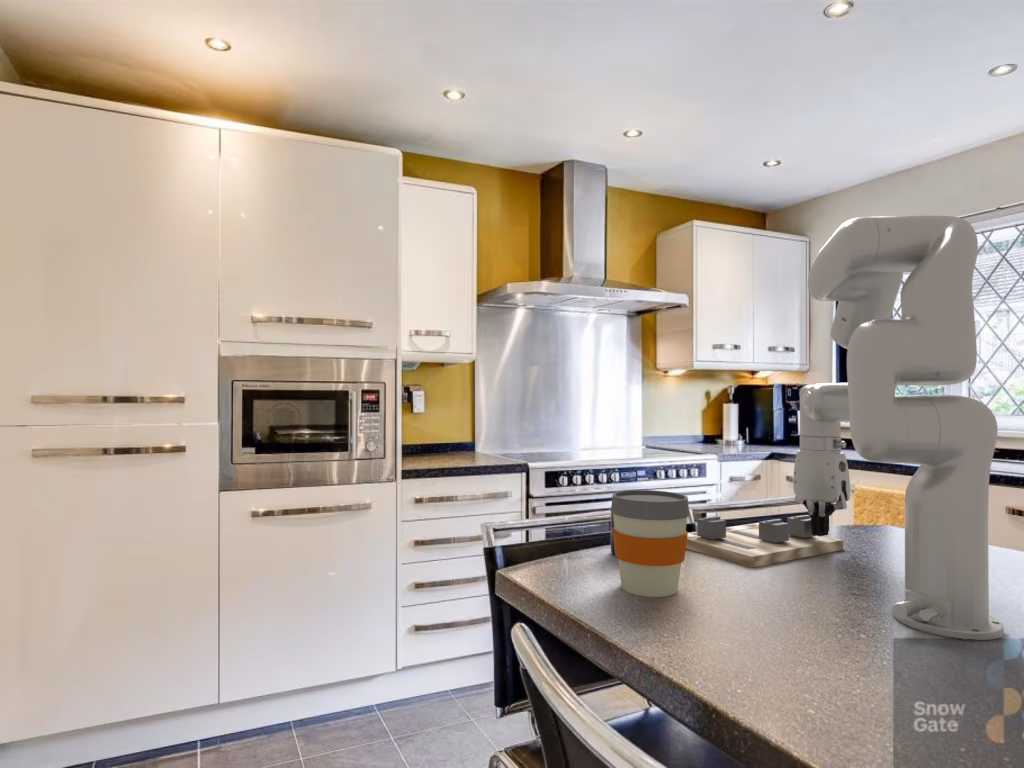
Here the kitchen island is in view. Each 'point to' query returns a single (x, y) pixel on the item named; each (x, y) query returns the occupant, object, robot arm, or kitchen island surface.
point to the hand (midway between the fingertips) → (820, 534)
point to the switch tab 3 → (800, 526)
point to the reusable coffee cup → (650, 540)
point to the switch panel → (760, 546)
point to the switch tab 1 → (711, 528)
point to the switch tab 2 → (774, 531)
